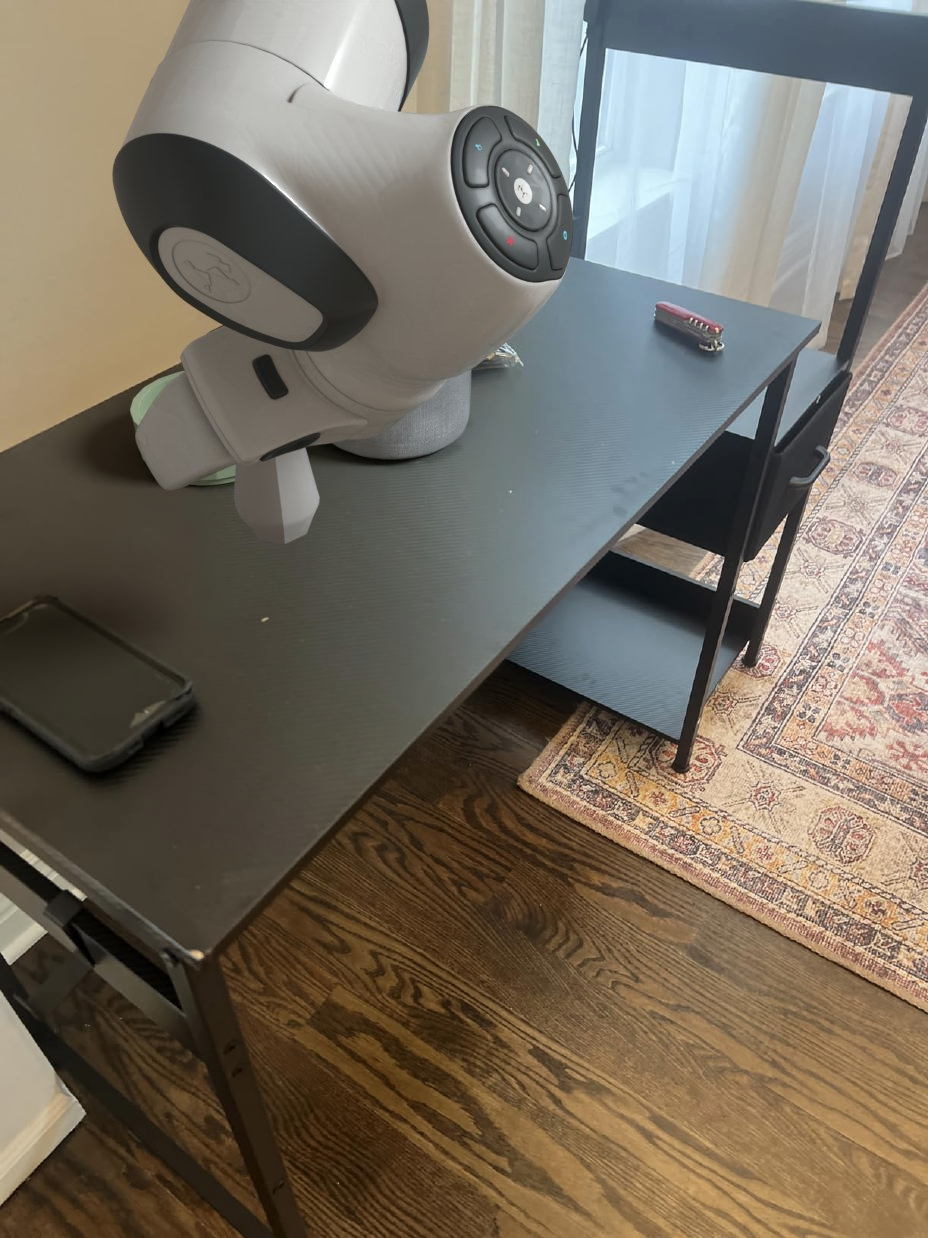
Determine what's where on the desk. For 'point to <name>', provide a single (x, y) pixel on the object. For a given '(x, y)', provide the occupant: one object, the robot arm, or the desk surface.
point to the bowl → (142, 405)
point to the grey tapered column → (277, 496)
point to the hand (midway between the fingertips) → (264, 434)
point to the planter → (421, 426)
